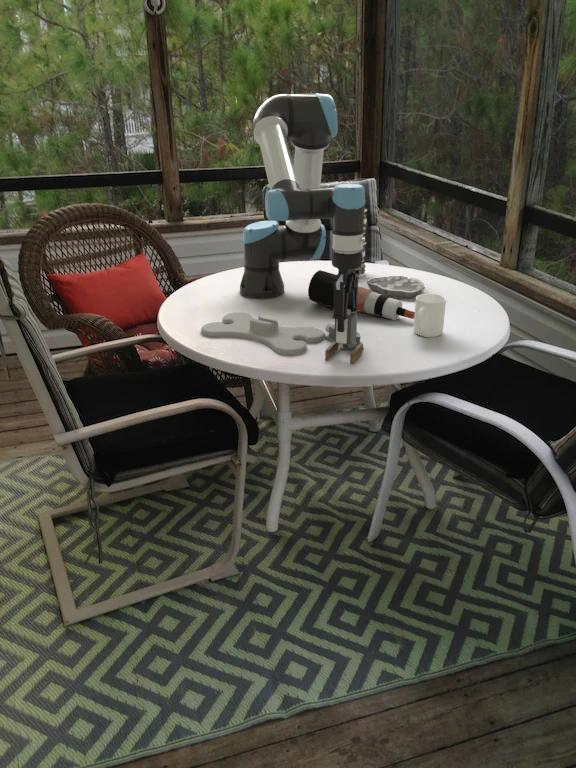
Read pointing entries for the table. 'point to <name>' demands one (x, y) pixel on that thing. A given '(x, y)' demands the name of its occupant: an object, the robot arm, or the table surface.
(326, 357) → the end holder
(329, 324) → the clip
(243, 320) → the holder
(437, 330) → the mug
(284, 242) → the robot arm
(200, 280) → the table surface
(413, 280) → the brain slice
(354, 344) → the clip
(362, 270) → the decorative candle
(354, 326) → the block
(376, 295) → the cable
